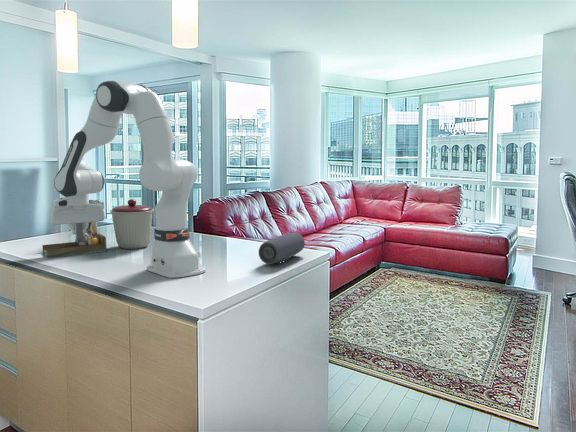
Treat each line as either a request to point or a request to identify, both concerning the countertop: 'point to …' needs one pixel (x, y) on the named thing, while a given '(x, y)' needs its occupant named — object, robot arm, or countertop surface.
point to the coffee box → (91, 229)
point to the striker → (79, 235)
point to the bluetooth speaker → (281, 248)
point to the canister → (132, 225)
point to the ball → (94, 241)
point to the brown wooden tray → (70, 248)
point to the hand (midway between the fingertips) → (79, 233)
